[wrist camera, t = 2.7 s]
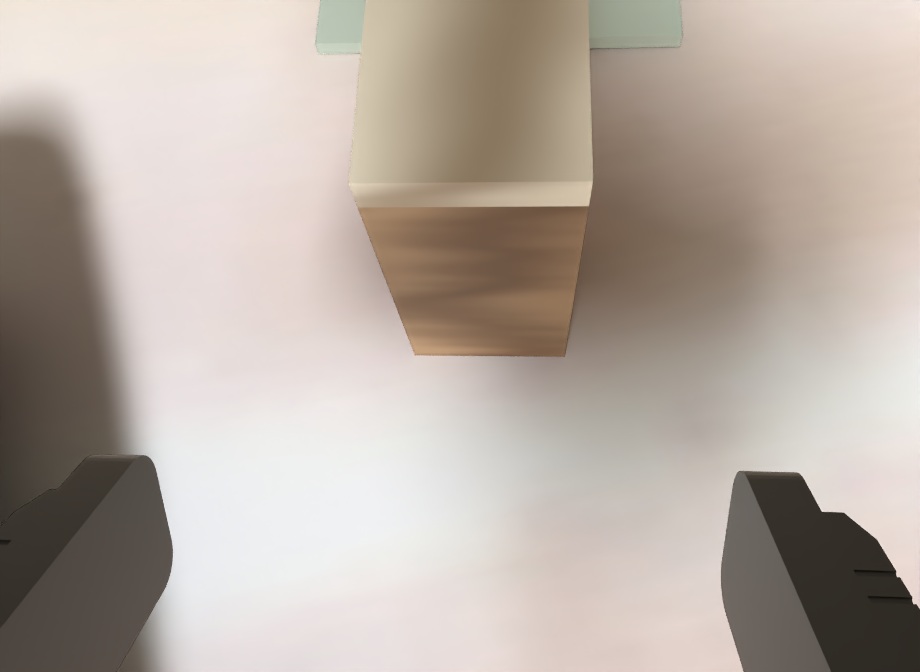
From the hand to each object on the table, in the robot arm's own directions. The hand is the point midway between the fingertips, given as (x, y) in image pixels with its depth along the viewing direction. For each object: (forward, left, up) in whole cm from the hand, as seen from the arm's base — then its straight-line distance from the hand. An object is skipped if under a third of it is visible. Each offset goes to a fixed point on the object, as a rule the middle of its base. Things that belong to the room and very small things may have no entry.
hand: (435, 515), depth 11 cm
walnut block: (0, +10, -14) cm, 17 cm away
